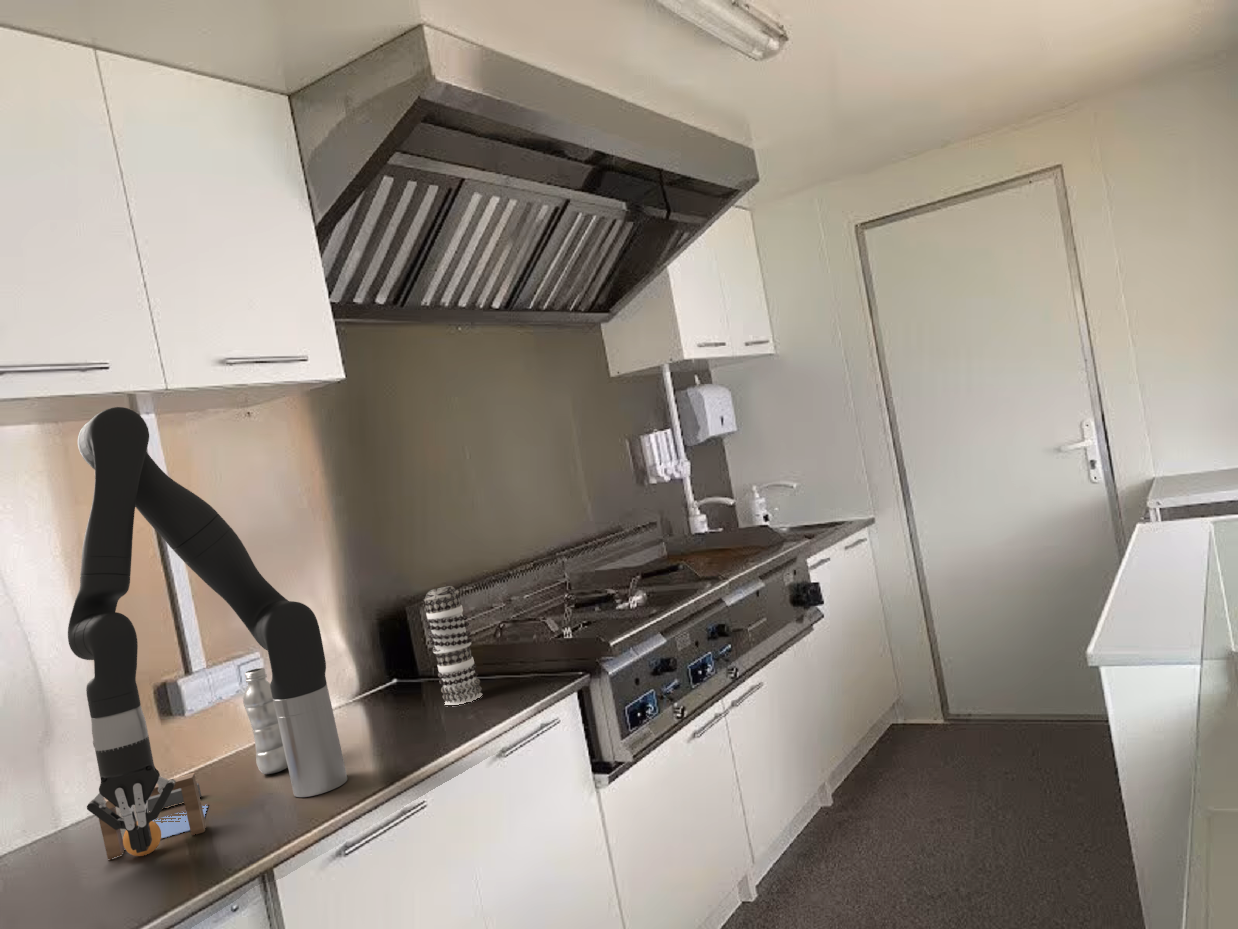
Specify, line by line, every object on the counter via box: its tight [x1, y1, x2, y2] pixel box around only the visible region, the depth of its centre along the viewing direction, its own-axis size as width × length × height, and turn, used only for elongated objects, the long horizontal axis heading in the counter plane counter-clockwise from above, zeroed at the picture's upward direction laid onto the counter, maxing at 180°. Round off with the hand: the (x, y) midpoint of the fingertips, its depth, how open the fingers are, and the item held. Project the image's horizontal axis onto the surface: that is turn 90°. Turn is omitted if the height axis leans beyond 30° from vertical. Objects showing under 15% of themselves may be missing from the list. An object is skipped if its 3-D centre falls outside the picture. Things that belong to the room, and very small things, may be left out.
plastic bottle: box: [242, 667, 288, 775], centre depth 190 cm, size 6×7×20 cm
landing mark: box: [153, 804, 209, 839], centre depth 169 cm, size 13×13×1 cm
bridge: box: [98, 772, 207, 860], centre depth 162 cm, size 3×14×9 cm, turn 108°
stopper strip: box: [147, 782, 202, 812], centre depth 182 cm, size 2×9×2 cm, turn 108°
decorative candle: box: [422, 585, 483, 706], centre depth 217 cm, size 9×9×25 cm
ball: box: [122, 821, 162, 857], centre depth 157 cm, size 6×6×6 cm
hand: (142, 850), depth 154 cm, fingers closed
